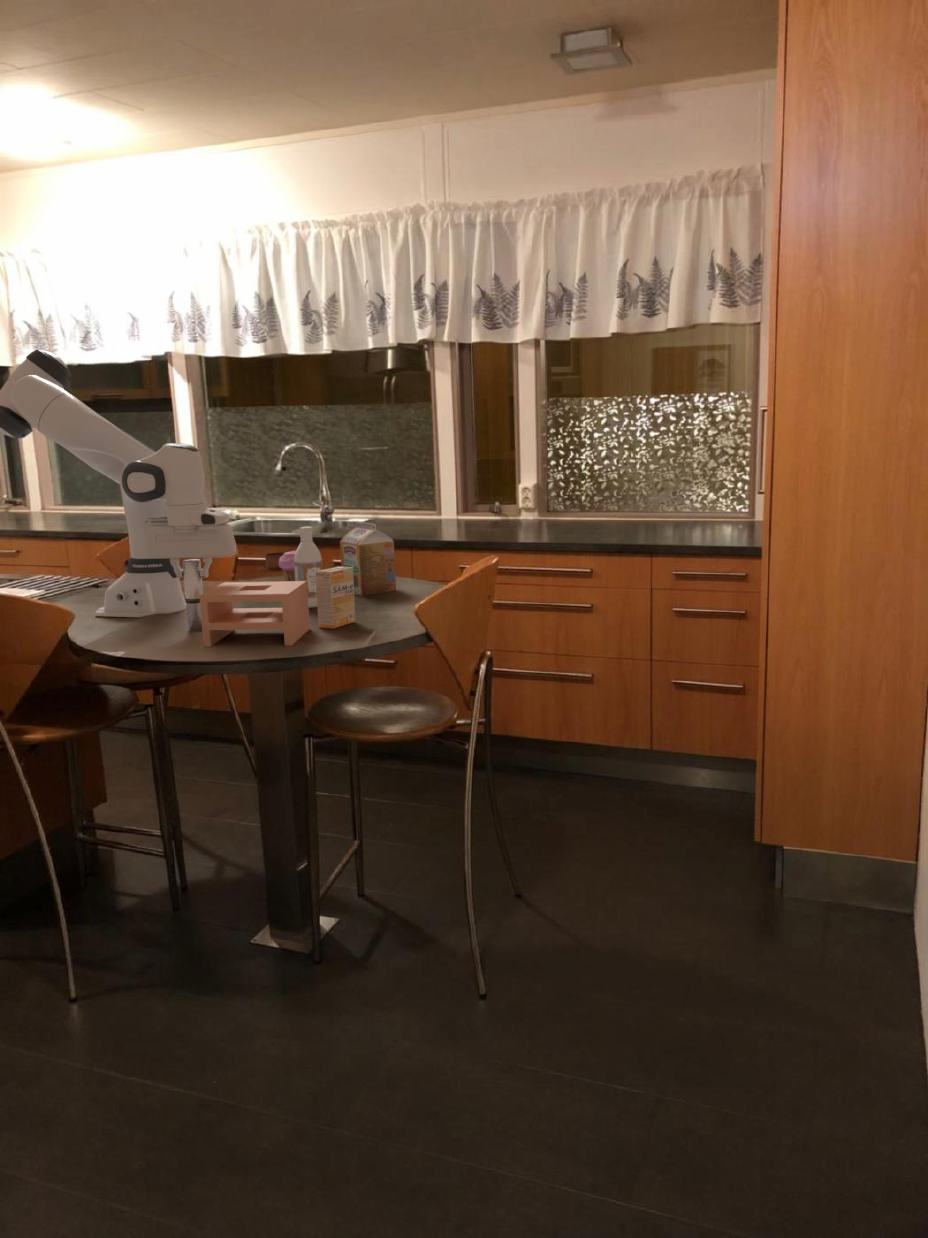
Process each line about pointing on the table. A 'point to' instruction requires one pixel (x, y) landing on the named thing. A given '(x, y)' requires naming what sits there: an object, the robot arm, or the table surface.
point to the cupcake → (288, 565)
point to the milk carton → (369, 559)
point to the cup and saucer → (272, 562)
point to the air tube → (193, 593)
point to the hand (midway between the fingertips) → (192, 577)
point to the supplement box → (335, 597)
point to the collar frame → (255, 609)
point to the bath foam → (308, 564)
